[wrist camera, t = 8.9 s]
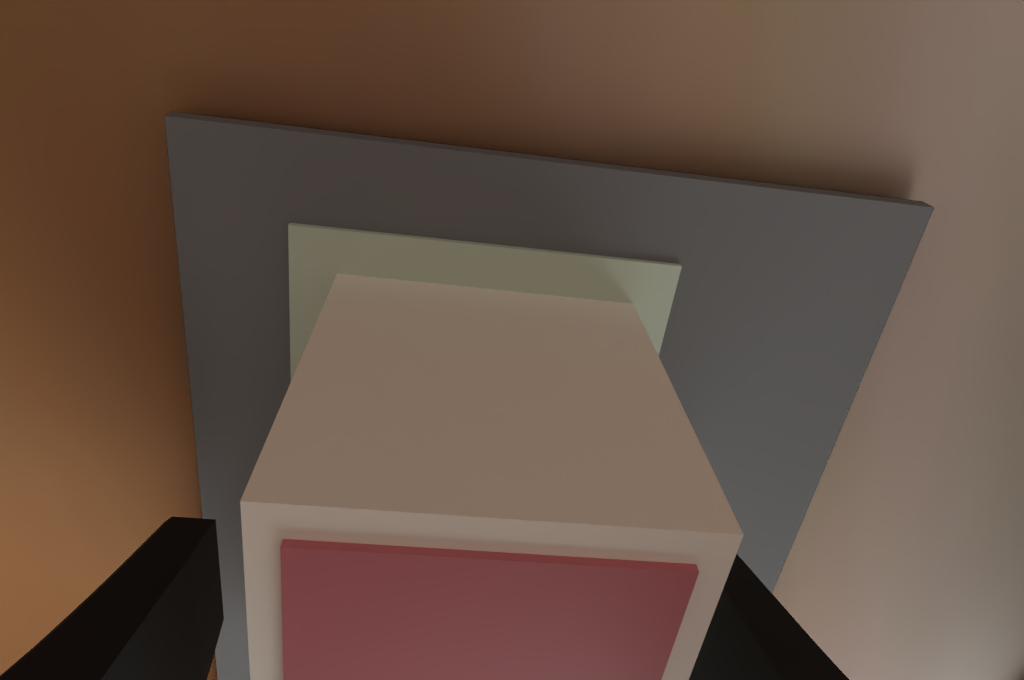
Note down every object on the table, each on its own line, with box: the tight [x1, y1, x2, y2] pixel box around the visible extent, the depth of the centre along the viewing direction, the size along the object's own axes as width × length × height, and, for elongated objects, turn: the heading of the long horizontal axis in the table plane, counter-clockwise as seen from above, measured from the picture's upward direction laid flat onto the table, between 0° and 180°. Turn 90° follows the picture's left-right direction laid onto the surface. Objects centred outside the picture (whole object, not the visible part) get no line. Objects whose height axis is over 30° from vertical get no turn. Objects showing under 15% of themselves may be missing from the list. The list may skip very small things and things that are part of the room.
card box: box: [240, 273, 744, 680], centre depth 10 cm, size 8×4×5 cm, turn 172°
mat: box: [165, 112, 934, 680], centre depth 14 cm, size 11×18×1 cm, turn 173°
